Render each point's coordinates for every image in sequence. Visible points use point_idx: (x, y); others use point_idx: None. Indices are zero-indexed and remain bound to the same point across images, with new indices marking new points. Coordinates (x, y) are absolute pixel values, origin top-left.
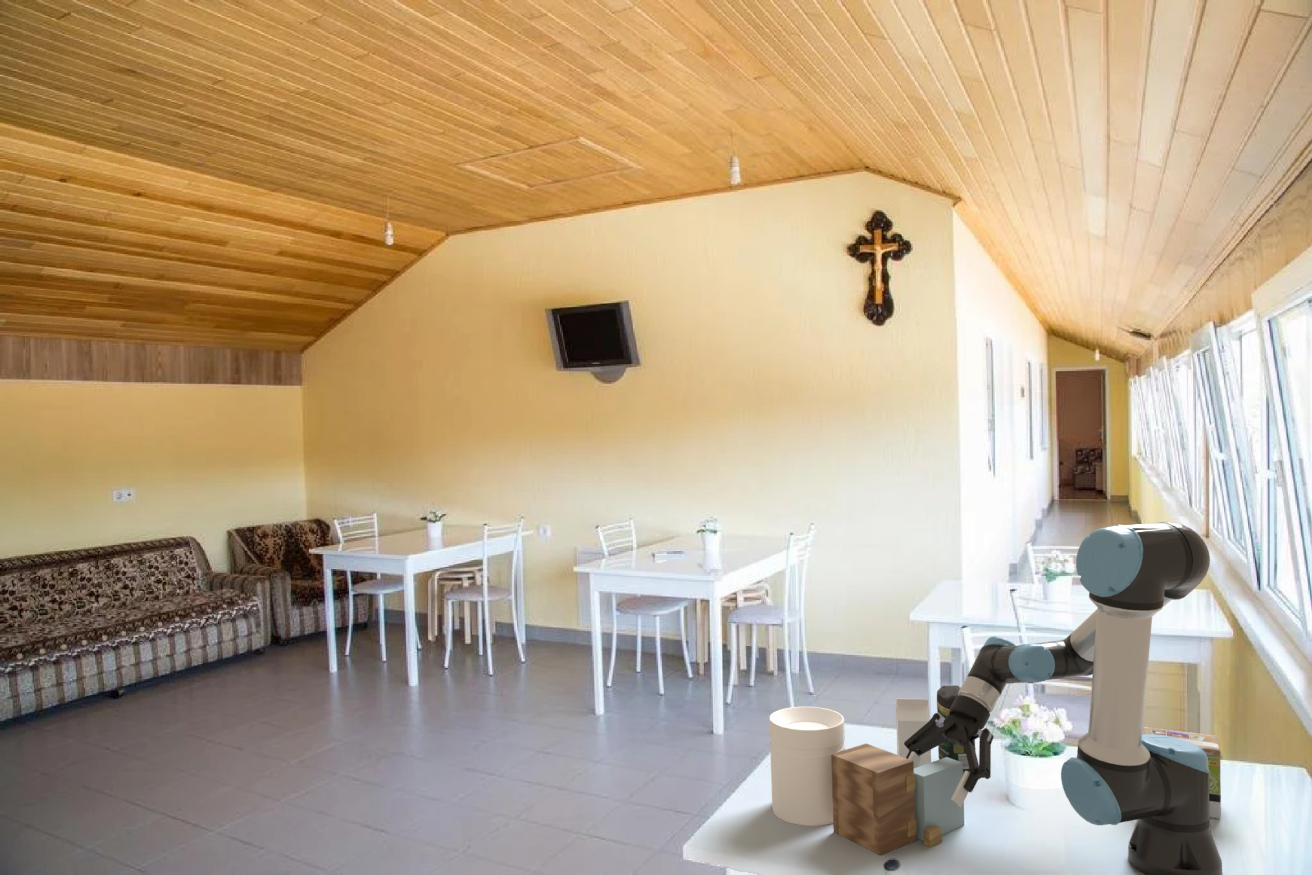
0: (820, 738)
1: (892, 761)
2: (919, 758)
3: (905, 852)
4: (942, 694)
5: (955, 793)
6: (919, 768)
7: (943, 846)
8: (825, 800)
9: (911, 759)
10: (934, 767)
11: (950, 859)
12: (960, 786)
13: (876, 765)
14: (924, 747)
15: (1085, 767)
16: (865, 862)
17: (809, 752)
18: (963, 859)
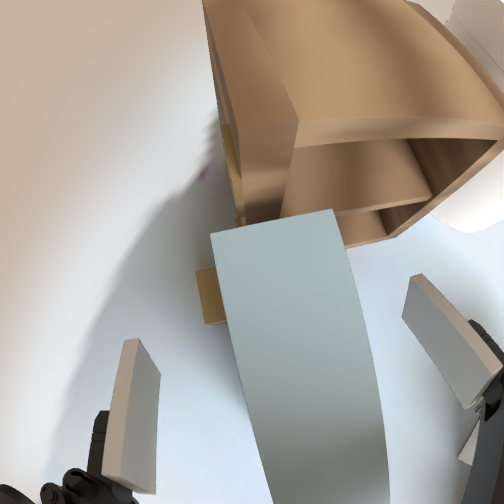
0: (471, 2)
1: (292, 46)
2: (467, 400)
3: (210, 211)
4: None
5: (128, 363)
6: (335, 295)
7: (192, 313)
8: None
9: (467, 347)
10: (308, 396)
11: (135, 282)
12: (116, 396)
13: (274, 2)
14: (492, 437)
15: None
16: (215, 125)
17: (452, 18)
18: (122, 309)
